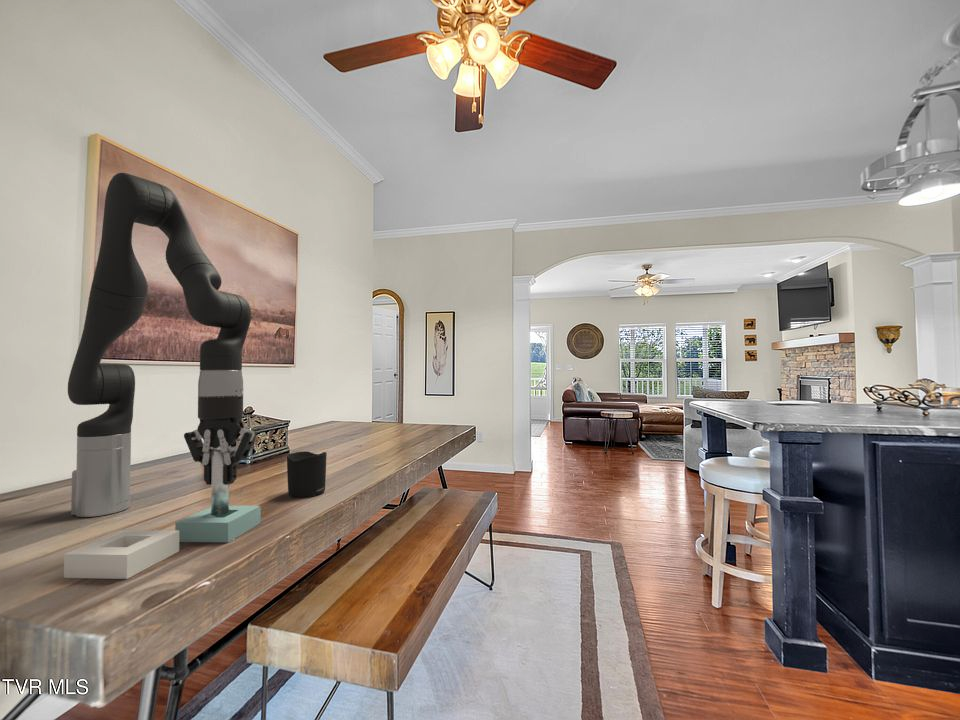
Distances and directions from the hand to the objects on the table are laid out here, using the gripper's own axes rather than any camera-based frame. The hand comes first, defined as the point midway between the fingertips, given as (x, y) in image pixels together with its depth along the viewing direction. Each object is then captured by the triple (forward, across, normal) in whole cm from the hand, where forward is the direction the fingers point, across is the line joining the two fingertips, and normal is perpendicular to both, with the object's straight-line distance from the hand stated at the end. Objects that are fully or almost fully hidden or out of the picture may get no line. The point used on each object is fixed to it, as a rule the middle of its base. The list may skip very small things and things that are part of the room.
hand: (220, 483), depth 82 cm
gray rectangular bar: (+6, 0, 0) cm, 6 cm away
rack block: (+9, 0, 0) cm, 9 cm away
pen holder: (+10, +4, +27) cm, 29 cm away
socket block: (+9, -6, -14) cm, 18 cm away
